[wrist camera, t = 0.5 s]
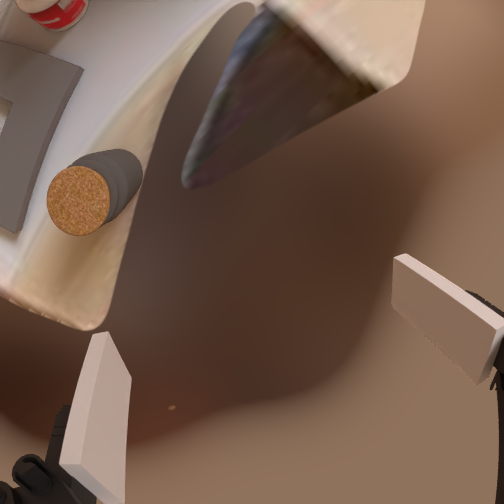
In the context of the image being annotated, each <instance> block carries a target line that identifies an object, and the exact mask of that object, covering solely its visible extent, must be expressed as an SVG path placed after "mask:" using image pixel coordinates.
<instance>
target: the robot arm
mask: <svg viewBox="0 0 504 504" xmlns="http://www.w3.org/2000/svg"><path fill="white" fill-rule="evenodd" d="M391 306H392V307H393V308H394V309H395V310H396V311H397V312H398V313H400V314H401V315H402V316H403V317H404V318H405V319H406V320H407V321H408V322H410V323H411V324H412V325H413V326H414V327H415V328H416V329H417V330H418V331H420V332H421V333H422V334H423V335H424V336H425V337H426V338H427V339H428V340H429V341H430V342H431V343H433V344H434V345H435V346H436V347H437V348H438V349H439V350H440V351H441V352H442V353H443V354H444V355H445V356H446V357H447V358H448V359H450V360H451V361H452V362H453V363H454V364H455V365H456V366H457V367H458V368H459V369H460V370H461V371H462V372H463V373H464V374H465V375H466V376H467V377H468V378H469V379H470V380H471V381H472V382H473V383H474V384H475V385H478V384H480V383H481V382H482V381H484V380H485V379H486V378H488V377H489V375H490V372H491V370H492V367H493V366H494V367H495V368H496V369H497V372H496V374H495V376H494V379H493V381H492V383H491V386H490V390H492V389H493V387H494V385H495V383H496V389H495V390H497V400H498V418H499V462H498V480H497V491H496V501H495V504H504V312H502V311H501V310H499V309H498V308H497V307H495V306H494V305H491V303H489V302H488V301H485V299H484V298H482V297H481V296H479V295H478V294H475V293H473V292H470V291H467V290H466V291H464V290H462V289H461V288H459V287H458V286H456V285H455V284H453V283H452V282H450V281H449V280H447V279H446V278H444V277H443V276H441V275H439V274H438V273H436V272H435V271H433V270H432V269H430V268H429V267H427V266H425V265H424V264H422V263H420V262H419V261H417V260H416V259H414V258H413V257H411V256H409V255H408V254H402V255H399V256H396V257H394V263H393V285H392V302H391ZM130 388H131V376H130V374H129V372H128V370H127V369H126V366H125V364H124V363H123V361H122V359H121V357H120V355H119V353H118V351H117V349H116V347H115V345H114V343H113V340H112V338H111V336H110V334H109V332H108V331H107V332H102V333H98V334H93V335H92V338H91V341H90V344H89V347H88V351H87V354H86V357H85V360H84V363H83V367H82V370H81V374H80V377H79V381H78V384H77V388H76V391H75V395H74V399H73V403H72V405H64V406H63V407H62V408H61V410H60V411H59V412H58V414H57V415H56V419H55V423H54V429H53V430H52V434H51V436H52V437H51V438H50V442H49V446H48V451H47V455H46V459H45V462H44V461H43V460H42V459H41V458H40V457H39V456H37V455H34V454H27V455H25V456H22V457H21V458H20V459H19V460H18V461H16V463H15V465H14V467H13V470H12V477H13V481H15V482H16V483H17V484H18V485H19V486H20V487H17V488H12V487H10V486H9V485H8V484H7V483H6V482H3V481H0V504H96V498H98V499H99V500H100V501H102V502H103V503H104V504H125V460H126V459H125V458H126V438H127V422H128V410H129V399H130Z"/></svg>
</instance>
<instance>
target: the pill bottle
mask: <svg viewBox="0 0 504 504" xmlns="http://www.w3.org/2000/svg"><path fill="white" fill-rule="evenodd" d="M16 3H17V6H18V7H19V8H20V9H21V10H22V11H23V12H24V13H26V14H27V15H28V16H30V17H31V18H32V19H34V20H35V21H36V22H38V23H39V24H40V25H42V26H43V27H44V28H46V29H47V30H50V31H63V30H66V29H68V28H70V27H72V26H73V25H75V24H76V23H77V22H78V21H79V20H80V19H81V18H82V17H83V15H84V14H85V12H86V10H87V7H88V0H16Z"/></svg>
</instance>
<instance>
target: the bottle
mask: <svg viewBox="0 0 504 504" xmlns="http://www.w3.org/2000/svg"><path fill="white" fill-rule="evenodd" d="M142 177H143V171H142V167H141V164H140V162H139V160H138V159H137V157H136V156H135V155H133V154H132V153H131V152H129V151H126V150H122V149H113V150H107V151H102V152H97V153H92V154H88V155H85V156H83V157H81V158H79V159H78V160H76V161H75V162H74V163H73V164H72V165H70V166H68V167H67V168H66V169H64V170H62V171H61V172H60V173H58V174H57V175H56V176H55V178H54V179H53V180H52V182H51V184H50V186H49V189H48V193H47V208H48V212H49V215H50V217H51V219H52V221H53V222H54V224H55V225H56V226H57V227H58V228H59V229H61V230H62V231H63V232H65V233H68V234H71V235H75V236H83V235H87V234H90V233H92V232H94V231H95V230H97V229H98V228H99V227H101V226H103V225H104V224H106V223H108V222H110V221H112V220H113V219H115V218H116V217H117V216H118V215H119V214H120V213H121V212H122V210H123V209H124V208H125V206H126V205H127V204H128V203H129V201H130V200H131V199H132V197H133V196H134V195H135V193H136V192H137V191H138V189H139V187H140V185H141V182H142Z"/></svg>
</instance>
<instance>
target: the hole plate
mask: <svg viewBox="0 0 504 504" xmlns="http://www.w3.org/2000/svg"><path fill="white" fill-rule="evenodd" d="M83 72H84V69H82V68H81V67H79V66H77V65H74V64H71V63H69V62H66V61H63V60H60V59H57V58H55V57H52V56H49V55H46V54H43V53H40V52H37V51H34V50H31V49H27V48H24V47H21V46H18V45H14V44H11V43H7V42H4V41H0V98H3V99H5V100H8V101H10V102H13V104H12V106H11V109H10V111H9V114H8V116H7V119H6V121H5V124H4V127H3V129H2V132H1V135H0V226H1V227H3V228H5V229H7V230H9V231H11V232H13V233H17V232H18V231H20V230H21V229H22V227H23V223H24V219H25V215H26V212H27V208H28V205H29V201H30V198H31V195H32V191H33V188H34V185H35V182H36V179H37V176H38V173H39V170H40V167H41V165H42V162H43V159H44V157H45V154H46V151H47V149H48V146H49V144H50V141H51V139H52V136H53V134H54V131H55V129H56V127H57V124H58V122H59V120H60V118H61V115H62V113H63V111H64V109H65V107H66V105H67V103H68V101H69V99H70V97H71V95H72V93H73V91H74V89H75V87H76V85H77V83H78V81H79V79H80V77H81V75H82V73H83Z"/></svg>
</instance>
